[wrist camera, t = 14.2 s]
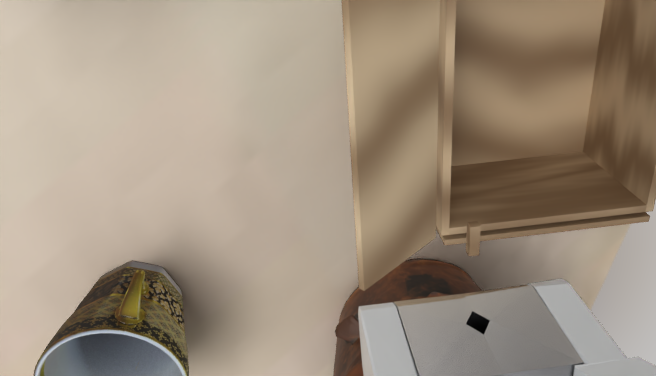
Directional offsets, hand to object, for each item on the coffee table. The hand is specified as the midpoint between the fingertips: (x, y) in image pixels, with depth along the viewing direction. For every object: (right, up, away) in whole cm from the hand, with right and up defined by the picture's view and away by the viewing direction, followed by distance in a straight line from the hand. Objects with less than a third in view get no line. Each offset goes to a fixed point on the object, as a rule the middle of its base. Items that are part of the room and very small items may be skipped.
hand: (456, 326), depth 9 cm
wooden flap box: (+11, +12, +32) cm, 36 cm away
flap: (+2, +5, +21) cm, 22 cm away
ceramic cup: (-17, -5, +39) cm, 42 cm away
